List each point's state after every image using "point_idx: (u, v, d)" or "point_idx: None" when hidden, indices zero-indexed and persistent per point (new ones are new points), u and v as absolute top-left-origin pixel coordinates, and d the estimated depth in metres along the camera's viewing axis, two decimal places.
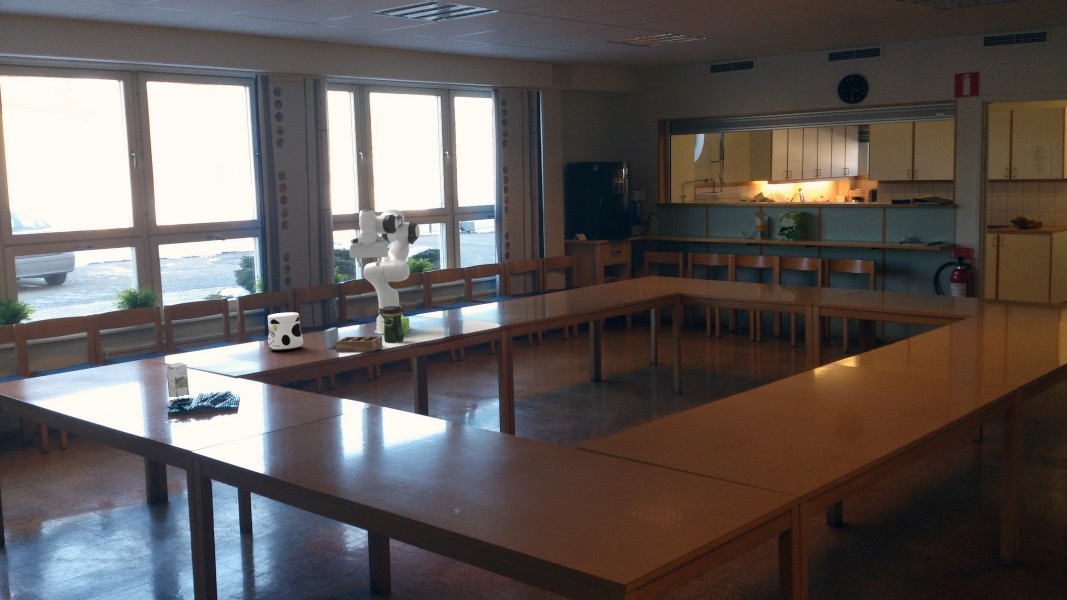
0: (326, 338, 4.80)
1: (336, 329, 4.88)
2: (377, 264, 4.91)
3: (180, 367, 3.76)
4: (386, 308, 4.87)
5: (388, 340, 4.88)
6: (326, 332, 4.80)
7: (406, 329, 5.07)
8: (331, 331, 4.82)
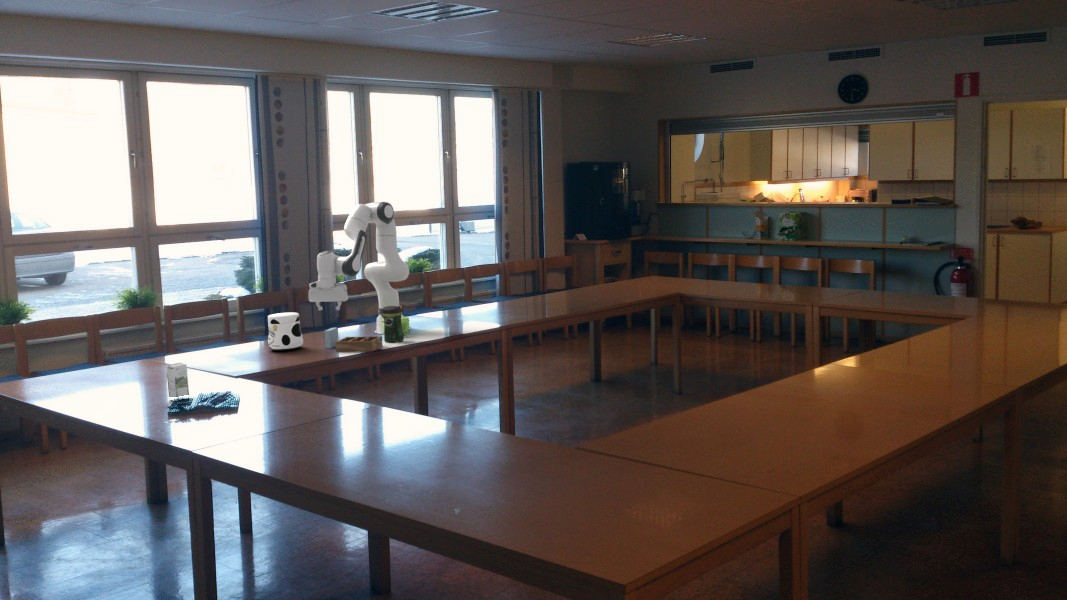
0: (326, 338, 4.80)
1: (336, 329, 4.88)
2: (337, 308, 4.81)
3: (180, 367, 3.76)
4: (386, 308, 4.87)
5: (388, 340, 4.88)
6: (326, 332, 4.80)
7: (406, 329, 5.07)
8: (331, 331, 4.82)
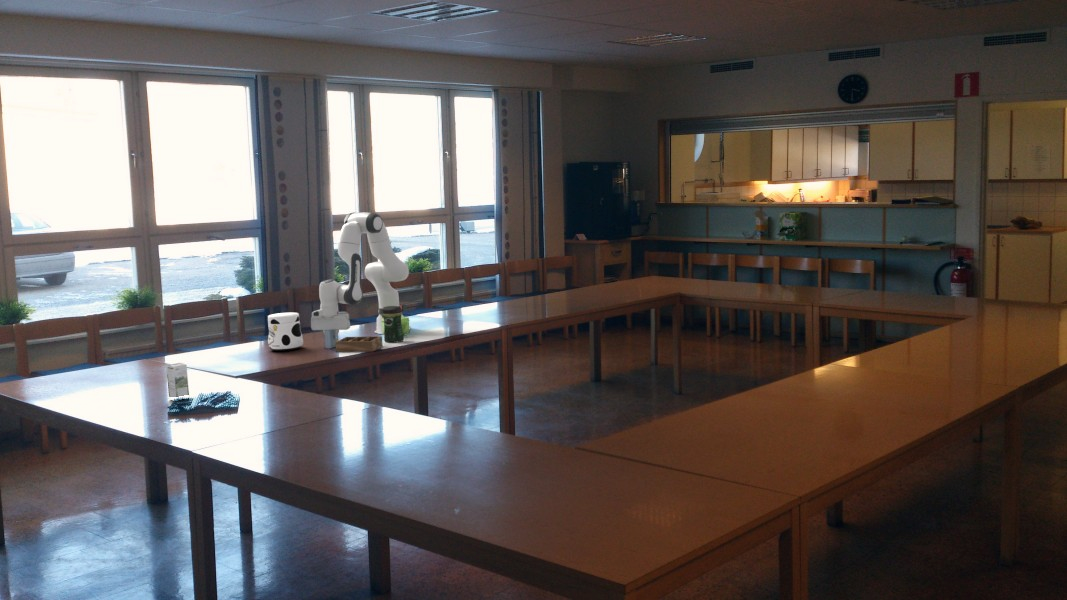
0: (326, 338, 4.80)
1: None
2: (334, 337, 4.84)
3: (180, 367, 3.76)
4: (386, 308, 4.87)
5: (388, 340, 4.88)
6: (326, 332, 4.80)
7: (406, 329, 5.07)
8: (331, 331, 4.82)
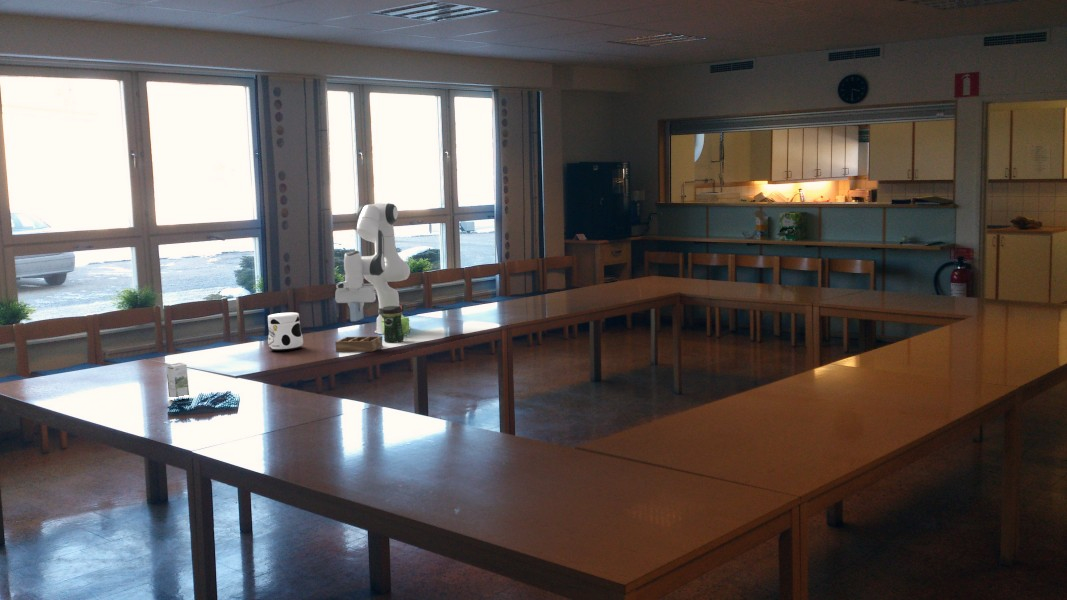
0: (351, 311, 4.67)
1: None
2: (359, 309, 4.70)
3: (180, 367, 3.76)
4: (386, 308, 4.87)
5: (388, 340, 4.88)
6: (351, 304, 4.66)
7: (406, 329, 5.07)
8: (356, 303, 4.68)
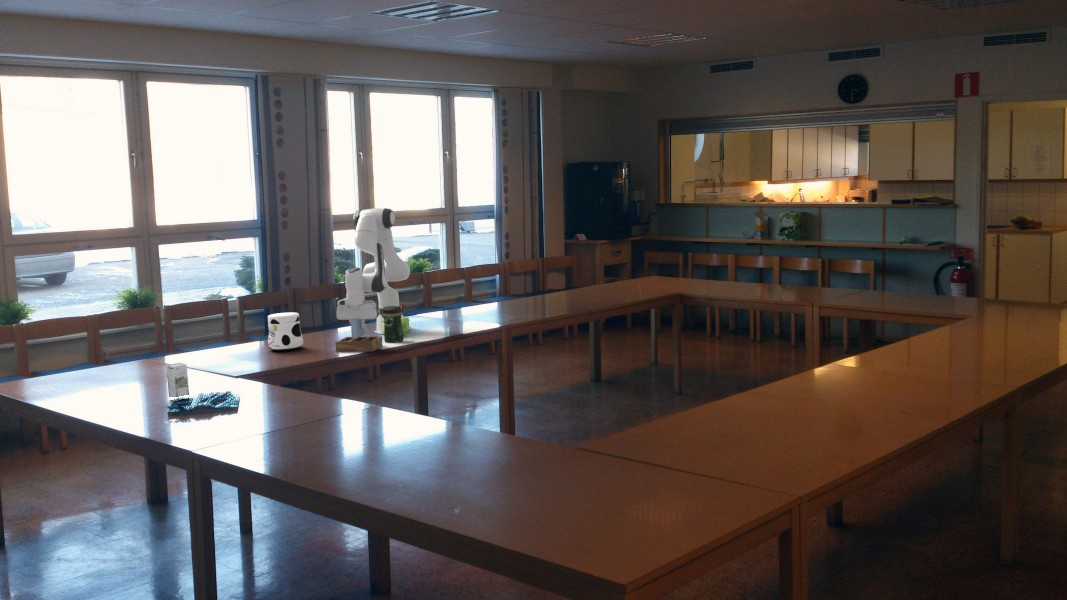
0: (352, 327, 4.68)
1: None
2: (361, 326, 4.71)
3: (180, 367, 3.76)
4: (386, 308, 4.87)
5: (388, 340, 4.88)
6: (352, 321, 4.67)
7: (406, 329, 5.07)
8: (357, 320, 4.69)
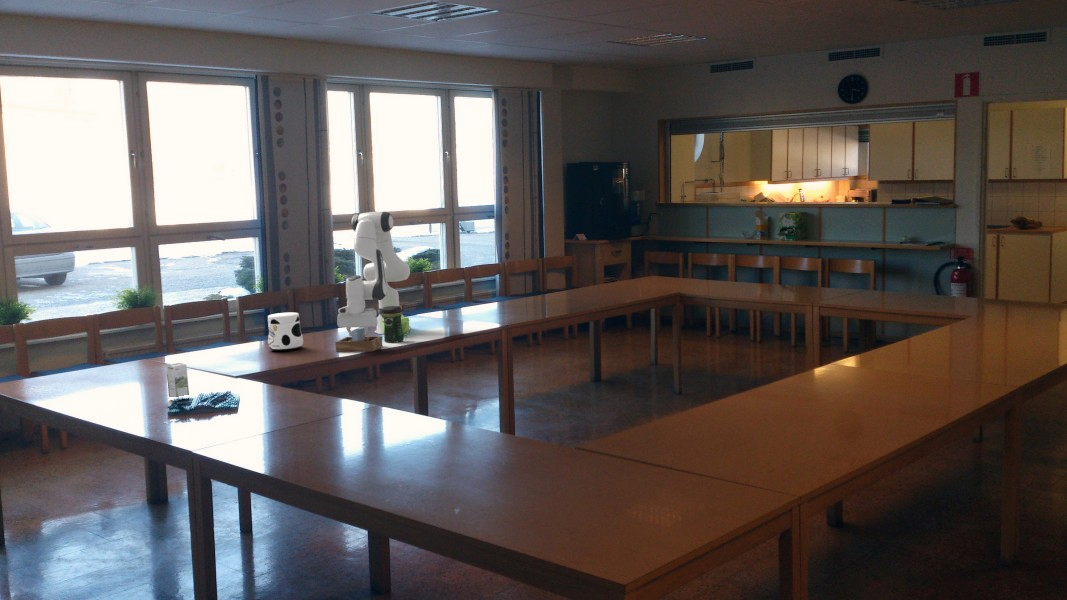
0: (353, 338, 4.69)
1: (363, 329, 4.76)
2: (365, 334, 4.72)
3: (180, 367, 3.76)
4: (386, 308, 4.87)
5: (388, 340, 4.88)
6: (353, 332, 4.68)
7: (406, 329, 5.07)
8: (358, 331, 4.70)
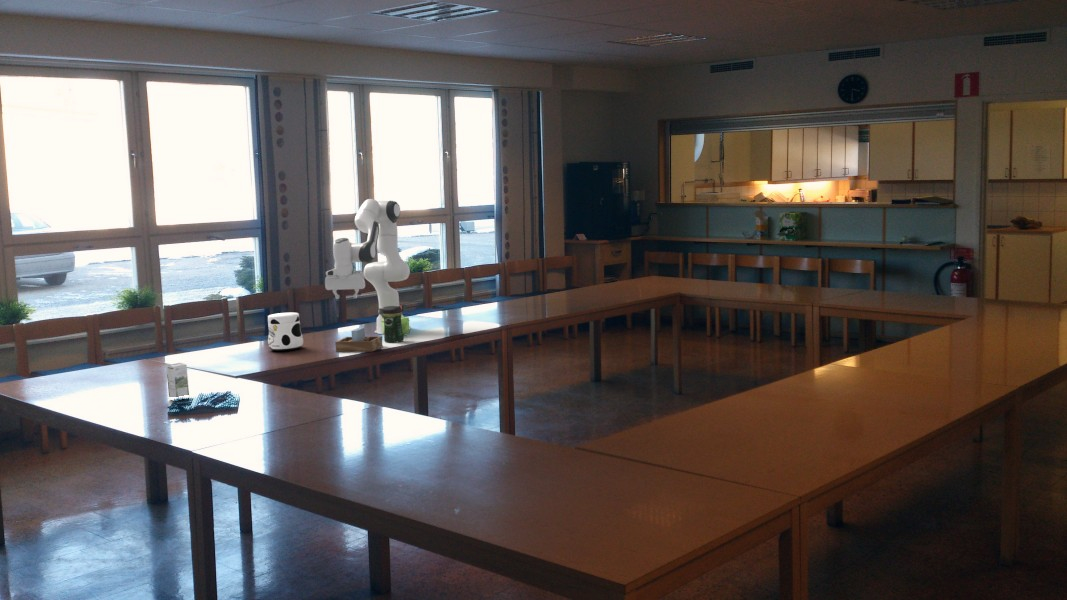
0: (353, 338, 4.69)
1: (363, 329, 4.76)
2: (354, 296, 4.76)
3: (180, 367, 3.76)
4: (386, 308, 4.87)
5: (388, 340, 4.88)
6: (353, 332, 4.68)
7: (406, 329, 5.07)
8: (358, 331, 4.70)
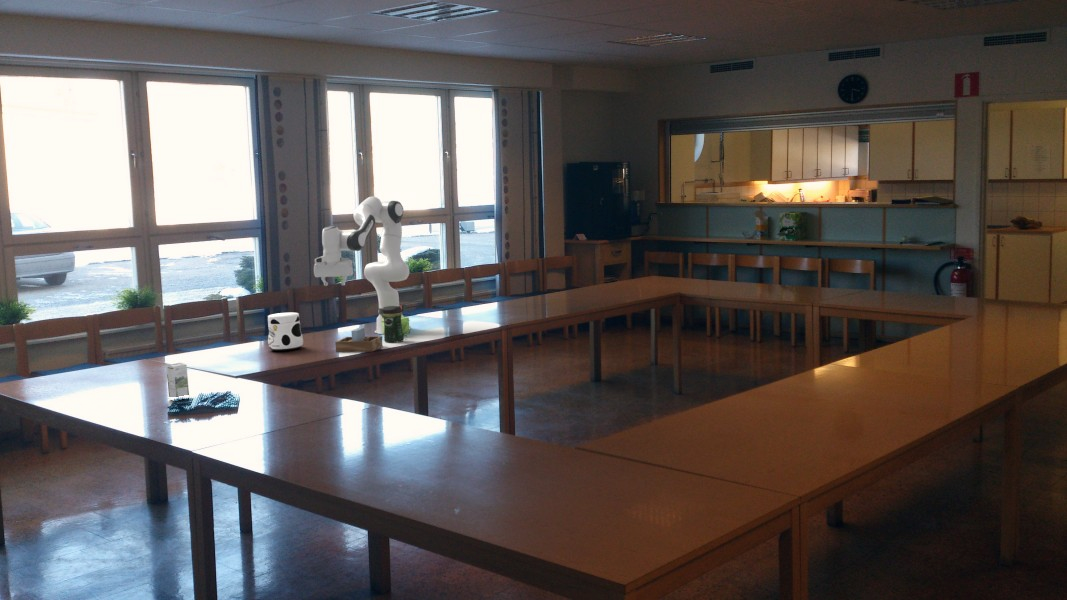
0: (353, 338, 4.69)
1: (363, 329, 4.76)
2: (342, 283, 4.81)
3: (180, 367, 3.76)
4: (386, 308, 4.87)
5: (388, 340, 4.88)
6: (353, 332, 4.68)
7: (406, 329, 5.07)
8: (358, 331, 4.70)
